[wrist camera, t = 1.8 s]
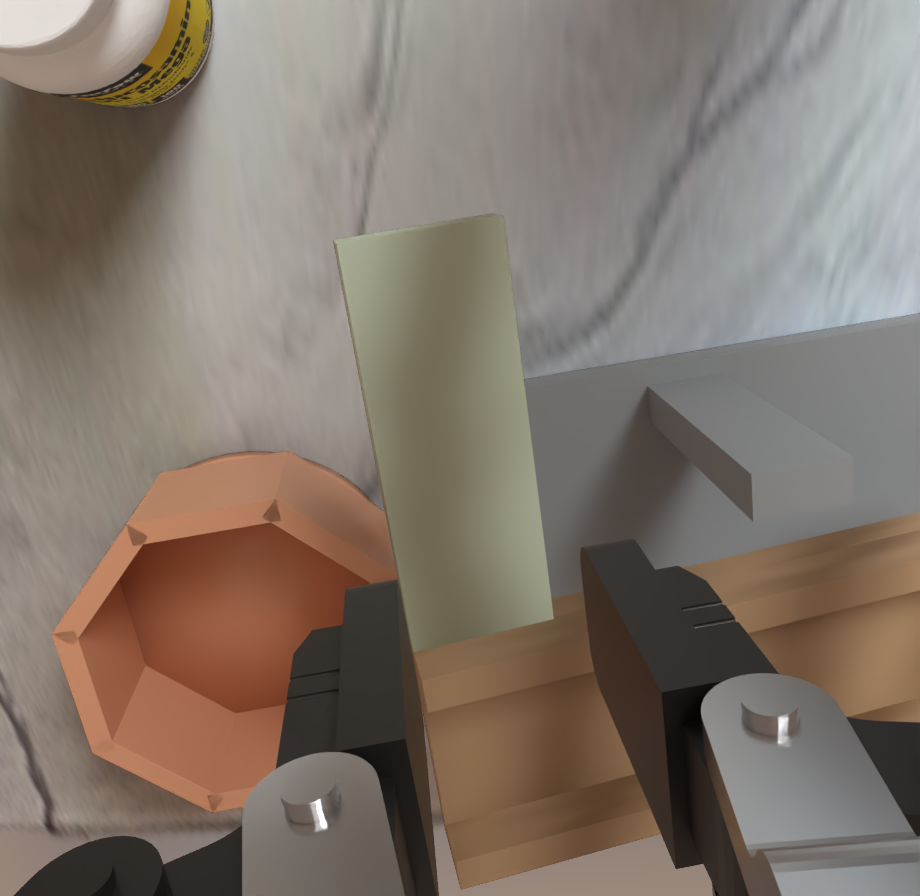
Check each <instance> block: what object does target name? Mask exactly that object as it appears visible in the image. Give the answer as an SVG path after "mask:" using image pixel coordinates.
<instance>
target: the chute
mask: <svg viewBox="0 0 920 896" xmlns="http://www.w3.org/2000/svg"><path fill="white" fill-rule="evenodd" d="M333 242H334V247H335V253H336V258H337V263H338V268H339V274H340V279H341V284H342V290H343V295H344V300H345V305H346V311H347V316H348V321H349V326H350V332H351V337H352V342H353V348H354V353H355V358H356V363H357V369H358V374H359V379H360V384H361V390H362V395H363V400H364V406H365V411H366V416H367V421H368V427H369V432H370V437H371V442H372V448H373V453H374V458H375V464H376V469H377V474H378V479H379V485H380V490H381V495H382V500H383V506H384V511H385V516H386V522H387V527H388V532H389V537H390V543H391V548H392V553H393V558H394V564H395V569H396V574H397V580H398V584H399V588H400V592H401V597H402V603H403V608H404V613H405V618H406V624H407V629H408V634H409V640H410V645H411V650H412V655H413V661H414V666H415V671H416V677H417V682H418V688H419V694H420V700H421V705H422V710H423V716H424V721H425V726H426V731H427V737H428V742H429V747H430V753H431V758H432V763H433V768H434V774H435V779H436V784H437V789H438V795H439V800H440V805H441V811H442V816H443V821H444V826H445V831H446V834H447V838H448V842H449V846H450V850H451V854H452V858H453V861H454V865H455V869H456V873H457V877H458V880H459V884H460V888H461V889H465V888H469V887H472V886H476V885H480V884H483V883H487V882H490V881H494V880H497V879H501V878H504V877H508V876H511V875H515V874H519V873H522V872H526V871H529V870H533V869H537V868H540V867H544V866H547V865H551V864H555V863H558V862H562V861H565V860H569V859H572V858H576V857H580V856H583V855H586V854H590V853H594V852H597V851H601V850H604V849H608V848H612V847H615V846H619V845H622V844H626V843H629V842H633V841H637V840H640V839H644V838H647V837H651V836H654V835H658V834H661V832H660V830H659V828H658V825H657V823H656V821H655V818H654V816H653V814H652V811H651V809H650V807H649V804H648V802H647V799H646V797H645V795H644V792H643V790H642V788H641V785H640V783H639V781H638V778H637V776H636V774H635V771H634V769H633V766H632V764H631V762H630V759H629V757H628V755H627V752H626V750H625V748H624V745H623V743H622V740H621V738H620V736H619V733H618V731H617V729H616V726H615V724H614V722H613V719H612V717H611V715H610V712H609V710H608V707H607V705H606V703H605V700H604V698H603V696H602V693H601V691H600V688H599V685H598V682H597V679H596V675H595V671H594V667H593V662H592V657H591V652H590V645H589V636H588V627H587V618H586V609H585V600H584V592H583V591H582V592H578V593H574V594H569V595H565V596H561V597H557V598H552V599H551V592H550V584H549V576H548V568H547V560H546V552H545V544H544V536H543V528H542V520H541V512H540V505H539V497H538V489H537V481H536V473H535V465H534V457H533V449H532V441H531V433H530V425H529V417H528V409H527V401H526V393H525V385H524V377H523V369H522V361H521V353H520V345H519V338H518V330H517V322H516V314H515V306H514V298H513V290H512V282H511V274H510V266H509V258H508V250H507V242H506V234H505V226H504V218H503V216H501V215H496V214H492V213H491V214H485V215H479V216H474V217H468V218H462V219H456V220H450V221H444V222H438V223H432V224H426V225H420V226H414V227H408V228H402V229H396V230H390V231H384V232H378V233H372V234H367V235H361V236H355V237H349V238H343V239H337V240H333ZM683 569H685V570H687V571H689V572H691V573H693V574H695V575H697V576H699V577H701V578H703V579H704V580H706V581H707V582H708V583H709V585H710V586H711V587H712V588H713V590H714V591H715V592H716V594H717V595H718V596H719V597H720V599H721V600H722V604H723V605H726V606H727V608H728V609H729V610H730V612H731V613H732V614H733V615H734V617H735V620H736V622H739V623H740V624H741V626H742V627H743V628H744V630H745V631H746V632H747V633H748V635H749V636H750V637H751V638H752V640H753V641H754V642H755V644H756V645H757V646H758V647H759V649H760V650H761V651H762V653H763V654H764V655H765V656H766V658H767V659H768V660H769V662H770V663H771V664H772V665H773V667H774V668H775V669H776V671H777V672H778V673H779V674H780V675H787V676H791V677H795V678H799V679H802V680H804V681H807V682H810V683H812V684H814V685H816V686H818V687H819V688H821V689H822V690H824V691H825V692H827V693H828V694H829V695H830V696H831V697H832V698H834V699H835V701H836V702H837V703H838V705H839V706H840V708H841V710H842V711H843V713H844V715H845V716H846V717H850V718H856V719H862V720H873V721H896V722H920V512H918V513H914V514H909V515H905V516H901V517H897V518H892V519H888V520H884V521H880V522H875V523H871V524H867V525H863V526H858V527H854V528H850V529H846V530H841V531H837V532H833V533H829V534H824V535H820V536H816V537H812V538H807V539H803V540H799V541H795V542H790V543H786V544H782V545H778V546H773V547H769V548H765V549H761V550H756V551H752V552H748V553H744V554H739V555H735V556H731V557H727V558H722V559H718V560H714V561H710V562H705V563H701V564H697V565H693V566H688V567H684V568H683Z"/></svg>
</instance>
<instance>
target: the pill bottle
mask: <svg viewBox="0 0 920 896" xmlns="http://www.w3.org/2000/svg"><path fill="white" fill-rule="evenodd" d="M214 25H215V18H214V4H213V0H0V77H2V78H4V79H6V80H8V81H10V82H12V83H15V84H17V85H20V86H22V87H25V88H28V89H31V90H35V91H39V92H43V93H48V94H52V95H57V96H61V97H68V98H73V99H78V100H83V101H88V102H93V103H98V104H102V105H106V106H112V107H121V108H136V107H145V106H150V105H154V104H158V103H160V102H163V101H165V100H167V99H169V98H171V97H173V96H175V95H176V94H178V93H179V92H180V91H182V90H183V89H185V88H186V87H187V86H188V85H189V84H190V83H191V82H192V81H193V79H194V78H195V77H196V76H197V74H198V73H199V72H200V70H201V68H202V66H203V65H204V63H205V61H206V59H207V56H208V54H209V51H210V48H211V44H212V40H213V35H214Z"/></svg>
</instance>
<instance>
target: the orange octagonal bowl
mask: <svg viewBox="0 0 920 896" xmlns="http://www.w3.org/2000/svg"><path fill="white" fill-rule="evenodd" d="M396 579H397V574H396V569H395V564H394V558H393V553H392V548H391V543H390V537H389V532H388V527H387V522H386V516H385V512H384V511H382V510H381V509H379V508H378V507H377V506H376V505H375V504H374V502H373V501H372V500H371V499H370V498H369V497H368V496H367V495H366V494H365V493H364V492H363V491H362V490H360V489H359V488H358V487H357V486H356V485H354V484H353V483H352V482H350V481H349V480H348V479H346V478H345V477H343V476H342V475H340V474H338V473H336V472H335V471H333V470H331V469H329V468H327V467H325V466H323V465H320V464H318V463H315V462H313V461H310V460H308V459H304V458H300V457H297V456H296V455H294V454H293V453H291V452H290V451H286V452H280V453H275V452H260V451H247V452H238V453H229V454H224V455H220V456H216V457H211V458H208V459H205V460H203V461H200V462H197V463H195V464H192V465H190V466H188V467H186V468H184V469H179V470H173V471H167V472H161V473H160V474H159V476H158V477H157V479H156V480H155V482H154V483H153V485H152V486H151V488H150V489H149V491H148V492H147V494H146V495H145V497H144V498H143V499H142V501H141V502H140V504H139V505H138V507H137V508H136V510H135V511H134V512H133V514H132V515H131V517H130V518H129V520H128V521H127V523H126V524H125V526H124V527H123V529H122V530H121V532H120V533H119V535H118V536H117V538H116V539H115V541H114V542H113V544H112V545H111V546H110V548H109V549H108V551H107V552H106V554H105V555H104V557H103V558H102V560H101V561H100V563H99V564H98V566H97V567H96V569H95V570H94V571H93V573H92V574H91V576H90V577H89V579H88V580H87V582H86V583H85V585H84V586H83V588H82V589H81V591H80V592H79V594H78V595H77V597H76V598H75V600H74V601H73V603H72V604H71V606H70V607H69V609H68V610H67V612H66V613H65V615H64V616H63V618H62V619H61V621H60V622H59V624H58V625H57V627H56V628H55V630H54V631H53V633H52V637H53V640H54V643H55V645H56V648H57V651H58V654H59V657H60V660H61V663H62V666H63V669H64V672H65V675H66V677H67V680H68V683H69V686H70V689H71V692H72V695H73V698H74V701H75V704H76V707H77V709H78V712H79V715H80V718H81V721H82V724H83V727H84V730H85V733H86V736H87V739H88V741H89V744H90V747H91V750H92V753H93V754H95V755H97V756H99V757H101V758H103V759H105V760H107V761H109V762H111V763H113V764H115V765H117V766H119V767H121V768H123V769H125V770H127V771H129V772H131V773H133V774H136V775H138V776H140V777H142V778H144V779H146V780H148V781H150V782H152V783H154V784H156V785H158V786H160V787H162V788H164V789H166V790H168V791H170V792H172V793H174V794H176V795H178V796H180V797H182V798H184V799H186V800H188V801H190V802H192V803H194V804H196V805H198V806H200V807H202V808H204V809H206V810H208V811H210V812H212V813H213V812H218V811H224V810H229V809H235V808H240V807H244V805H245V803H246V800H247V798H248V797H249V795H250V793H251V792H252V790H253V789H254V788H255V787H256V785H257V784H258V783H259V782H260V781H261V780H262V779H264V778H265V777H266V776H267V775H268V774H270V773H271V772H272V771H274V770H275V769H276V763H277V757H278V750H279V744H280V737H281V731H282V724H283V718H284V712H285V705H286V703H287V692H288V686H289V683H290V673H291V667H292V660H293V654H294V652H295V651H296V650H297V649H298V647H299V646H300V645H301V644H302V642H303V641H304V640H305V639H306V637H307V636H308V635H309V634H310V632H311V631H312V630H316V629H322V628H327V627H333V626H339V625H343V613H344V597H345V589H346V588H350V587H356V586H362V585H368V584H373V583H379V582H385V581H390V580H396Z"/></svg>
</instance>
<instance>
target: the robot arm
mask: <svg viewBox="0 0 920 896" xmlns="http://www.w3.org/2000/svg"><path fill="white" fill-rule="evenodd" d="M580 564H581V574H582V583H583V592H584V600H585V609H586V618H587V627H588V636H589V645H590V652H591V657H592V662H593V667H594V671H595V675H596V679H597V682H598V685H599V688H600V691H601V693H602V696H603V698H604V700H605V703H606V705H607V707H608V710H609V712H610V715H611V717H612V719H613V722H614V724H615V726H616V729H617V731H618V733H619V736H620V738H621V740H622V743H623V745H624V748H625V750H626V752H627V755H628V757H629V759H630V762H631V764H632V766H633V769H634V771H635V774H636V776H637V778H638V781H639V783H640V785H641V788H642V790H643V792H644V795H645V797H646V799H647V802H648V804H649V807H650V809H651V811H652V814H653V816H654V818H655V821H656V823H657V825H658V828H659V830H660V832H661V835H662V837H663V840H664V842H665V844H666V847H667V849H668V851H669V854H670V856H671V858H672V861H673V863H674V865H675V868H676V869H678V868H684V867H689V866H694V865H699V864H704V866H705V868H706V870H707V872H708V874H709V877H710V878H711V881H712V891H713V896H920V722H896V721H873V720H862V719H856V718H850V717H846V716H845V715H844V713H843V711H842V710H841V708H840V706H839V705H838V703H837V702H836V701H835V699H834V698H832V697H831V696H830V695H829V694H828V693H827V692H825V691H824V690H822V689H821V688H819V687H818V686H816V685H814V684H812V683H810V682H807V681H804V680H802V679H799V678H795V677H791V676H787V675H780V674H779V673H778V672H777V671H776V669H775V668H774V667H773V665H772V664H771V663H770V662H769V660H768V659H767V658H766V656H765V655H764V654H763V653H762V651H761V650H760V649H759V647H758V646H757V645H756V644H755V642H754V641H753V640H752V638H751V637H750V636H749V635H748V633H747V632H746V631H745V630H744V628H743V627H742V626H741V624H740V623H739V622H736V620H735V617H734V615H733V614H732V613H731V612H730V610H729V609H728V608H727V606H726V605H723V604H722V600H721V599H720V597H719V596H718V595H717V594H716V592H715V591H714V590H713V588H712V587H711V586H710V585H709V583H708V582H707V581H706V580H704V579H703V578H701V577H699V576H697V575H695V574H693V573H691V572H689V571H687V570H685V569H683V568H682V567H680V566H673V567H667V568H661V569H656V570H655V569H654V567H653V566H652V564H651V563H650V561H649V560H648V558H647V557H646V555H645V554H644V552H643V551H642V549H641V548H640V546H639V545H638V543H637V542H636V541H635V539H633V538H631V539H625V540H619V541H614V542H608V543H602V544H597V545H591V546H585V547H581V550H580ZM14 896H439V892H438V881H437V870H436V859H435V847H434V836H433V825H432V814H431V803H430V792H429V781H428V769H427V758H426V747H425V736H424V725H423V716H422V708H421V701H420V694H419V688H418V682H417V677H416V671H415V666H414V661H413V655H412V650H411V645H410V640H409V634H408V629H407V624H406V618H405V613H404V608H403V603H402V597H401V592H400V588H399V584H398V580H397V579H396V580H390V581H385V582H379V583H373V584H368V585H362V586H356V587H350V588H346V589H345V597H344V613H343V625H339V626H333V627H327V628H322V629H316V630H312V631H311V632H310V634H309V635H308V636H307V637H306V639H305V640H304V641H303V642H302V644H301V645H300V646H299V647H298V649H297V650H296V651H295V652H294V654H293V660H292V667H291V673H290V683H289V686H288V692H287V703H286V705H285V712H284V718H283V724H282V731H281V737H280V744H279V750H278V757H277V763H276V769H275V770H274V771H272V772H271V773H270V774H268V775H267V776H266V777H265V778H264V779H262V780H261V781H260V782H259V783H258V784H257V785H256V787H255V788H254V789H253V790H252V792H251V793H250V795H249V797H248V798H247V800H246V803H245V805H244V808H243V815H242V826H240V827H239V828H238V829H236V830H235V831H233V832H232V833H230V834H229V835H227V836H225V837H224V838H222V839H220V840H218V841H216V842H214V843H212V844H210V845H208V846H206V847H203V848H201V849H199V850H196V851H194V852H192V853H189V854H187V855H185V856H182V857H180V858H178V859H175V860H173V861H171V862H169V863H166V864H164V865H163V862H162V859H161V856H160V855H159V852H158V851H157V849H156V848H155V847H154V846H153V845H152V844H151V843H149V842H147V841H145V840H143V839H140V838H137V837H130V836H115V837H108V838H102V839H99V840H95V841H92V842H88V843H86V844H83V845H81V846H78V847H76V848H74V849H72V850H70V851H68V852H66V853H64V854H63V855H61V856H59V857H58V858H56V859H54V860H53V861H51V862H50V863H49V864H47V865H46V866H45V867H43V868H42V869H41V870H39V871H38V872H37V873H36V874H35V875H34V876H33V877H32V878H31V879H30V880H29V881H28V882H27V883H26V884H25V885H24V886H23V887H22V888H21V889H20V890H19V891H18V892H17V893H16V894H15V895H14Z"/></svg>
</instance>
